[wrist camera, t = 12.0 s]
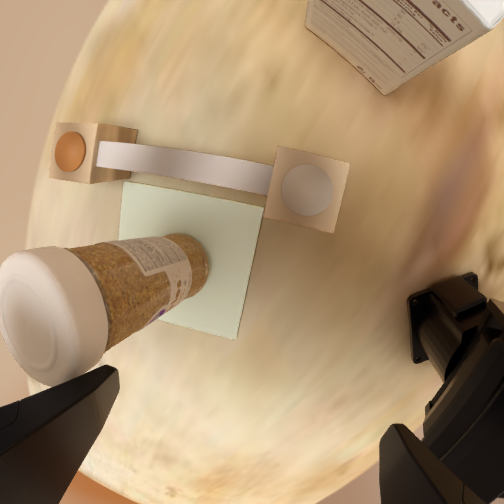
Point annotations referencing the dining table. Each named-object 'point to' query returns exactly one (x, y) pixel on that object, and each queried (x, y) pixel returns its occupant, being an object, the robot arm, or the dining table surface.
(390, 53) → the supplement box
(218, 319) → the pad
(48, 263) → the sprinkles bottle
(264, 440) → the dining table surface
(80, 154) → the handrail
